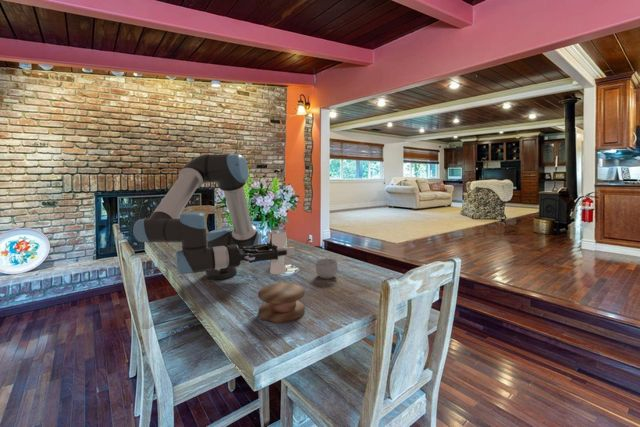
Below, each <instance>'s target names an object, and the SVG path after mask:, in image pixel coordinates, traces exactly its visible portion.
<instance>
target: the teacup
mask: <svg viewBox="0 0 640 427" xmlns="http://www.w3.org/2000/svg"><path fill="white" fill-rule="evenodd" d="M315 271H316V272H315V273H316V274H317V276H319V278H321V279H325V280H326V279H327V280H329V279H333V278H334V277H335V276H336V275H337V273H338V260H337V259H335V258H331V257H329V258H328V257H324V258H320V259H317V260H316V261H315Z"/></svg>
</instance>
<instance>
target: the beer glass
mask: <svg viewBox="0 0 640 427" xmlns="http://www.w3.org/2000/svg"><path fill="white" fill-rule="evenodd" d="M287 238H288V237H287V231H286V230H283V229H274V230H268V231H267V240H266V241H267V242H266V245H268V250H277V249H280V248H288V240H287ZM269 262H270V267H269V273H270V274H271V275H275V276H276V275H277V276H278V275H284V274H285V273H287V266H286V256H281V257H278V260H276V259H274V260H269Z"/></svg>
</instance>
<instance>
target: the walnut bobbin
mask: <svg viewBox="0 0 640 427" xmlns="http://www.w3.org/2000/svg"><path fill="white" fill-rule="evenodd" d="M304 296H305V288H303V287H302V285H299V284H296V283H290V282H289V283H288V282H281V283H273V284H269V285H266V286H264V287H262V288H260V289H259V290H258V292H257V297H258V299H259V300H260V301H261V302H264V303H262V304H261V305H260V307H259V308H258V316H259V318H260V317H261V318H260V319H261V320H263V321H265V322H268V323H272V324H273V323H275V324H283V323H290V322H294V321H296V320H298V319H300V318H302V317H303V316H304V315H305V312H306V309H305V308H306V307H305V304H304V303H303V302H302V301H300V300H301V299H302V298H303V297H304Z"/></svg>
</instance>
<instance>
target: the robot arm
mask: <svg viewBox="0 0 640 427" xmlns="http://www.w3.org/2000/svg"><path fill="white" fill-rule="evenodd" d="M247 163H248V162H247V161H246V159H245V157H244V156H242V155H241V154H239V153H236V154H235V153H222V154H219V153H218V154H217V153H215V154H209V153H207V154H202V155H199V156H196V157H194V158H193V159H191V160H190V161H188V162H187V163H186V164H185V165H183V167H181V169H180V171H179V172H178V178H177V179H176V180H175V182H174V183H173V185H172V186H171V187H170V189H169V190H168V191H167V193H166V194H165V196H164V197H163V199H161V201H160V202H159V204H158V205H157V206H156V208H155V209H154V211H153V212H152V213H151V215H150V216H149V217H148V218H146V217H145V218H140V219H138V220H136V221H135V223H134V225H133V228H132V229H133V230H132V233H133V236H134V238H135V240H137V241H138V242H141V243H151V244H152V243H181V250H178V251H176V253H175V258H176V259H175V260H176V261H175V262H176V269H177V272H178V274H179V275H187V274H196V273H203V272H205V278H207V277H208V278H207V279H209V278H213V279H212V280H224V279H223V278H226V279H229V277H230V278H232V277H234V276H236V275H237V273H238V271H237V270H238V269H237V267H239V266H240V265H241V261H245V262H248V263H249V264H250V263H251V264H252V263H256V262H263V261H270V260H274V259H276V260H278V257H281V256H287V257H288V256H294V255H295V254H296V251H295V250H296V249H295V246H290V247H288V246H287V248H280V249H277V250H268V245H267V243H262V232H261V231H259V230H257V228H256V226H255V225H253V223H252V220H251V215H250V211H249V206H248V203H247V198H246V192H245V188H244V187H245V185H246V184H247V181H248V180H249V167H248V164H247ZM207 183H217V187H218V188H219V190H221V191H223V194H224V198H225V202H226V206H227V209H228V212H229V217H230V220H231V224H232V227H233V229H232V228H231V227H223V228H218V229H214V230H211V231H208V232H207V224H206V223H207V222H206V216H205V214H204V213H203V212H201V211H191V212H190V211H189V212H183V211H184V209H185V207H186V206H187V204H188V202H189V201H190V200H191V198H192V197H193V195H194V194H195V192H196V190H197V189H199V188H200V187H202V185H203V184H207ZM182 212H183V213H182Z"/></svg>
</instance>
